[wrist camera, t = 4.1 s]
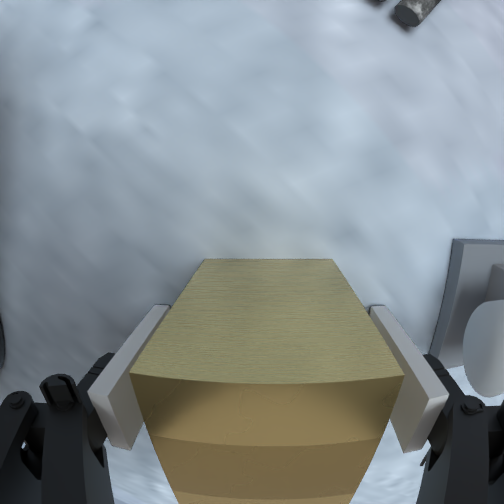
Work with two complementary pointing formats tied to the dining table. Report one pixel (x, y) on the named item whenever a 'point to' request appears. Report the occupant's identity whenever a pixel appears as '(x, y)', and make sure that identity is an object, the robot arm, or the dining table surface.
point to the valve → (414, 10)
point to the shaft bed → (463, 295)
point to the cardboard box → (266, 385)
